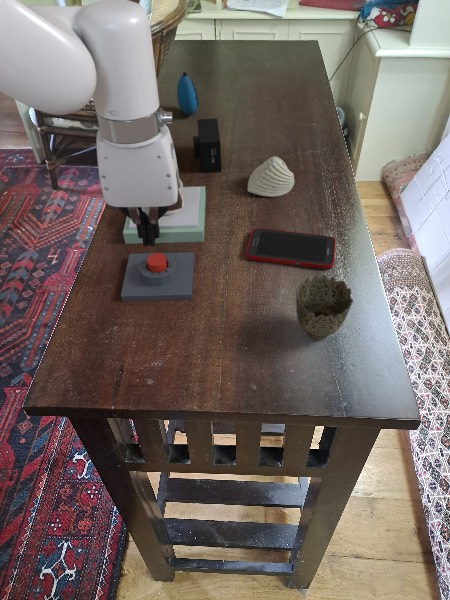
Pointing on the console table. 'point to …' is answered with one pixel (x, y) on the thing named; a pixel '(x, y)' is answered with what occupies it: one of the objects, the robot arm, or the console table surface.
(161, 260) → the button
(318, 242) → the cell phone
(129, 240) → the scale
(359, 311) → the console table surface
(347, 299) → the cup
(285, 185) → the seashell
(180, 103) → the ornament
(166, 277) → the pad
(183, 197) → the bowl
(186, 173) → the console table surface
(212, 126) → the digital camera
